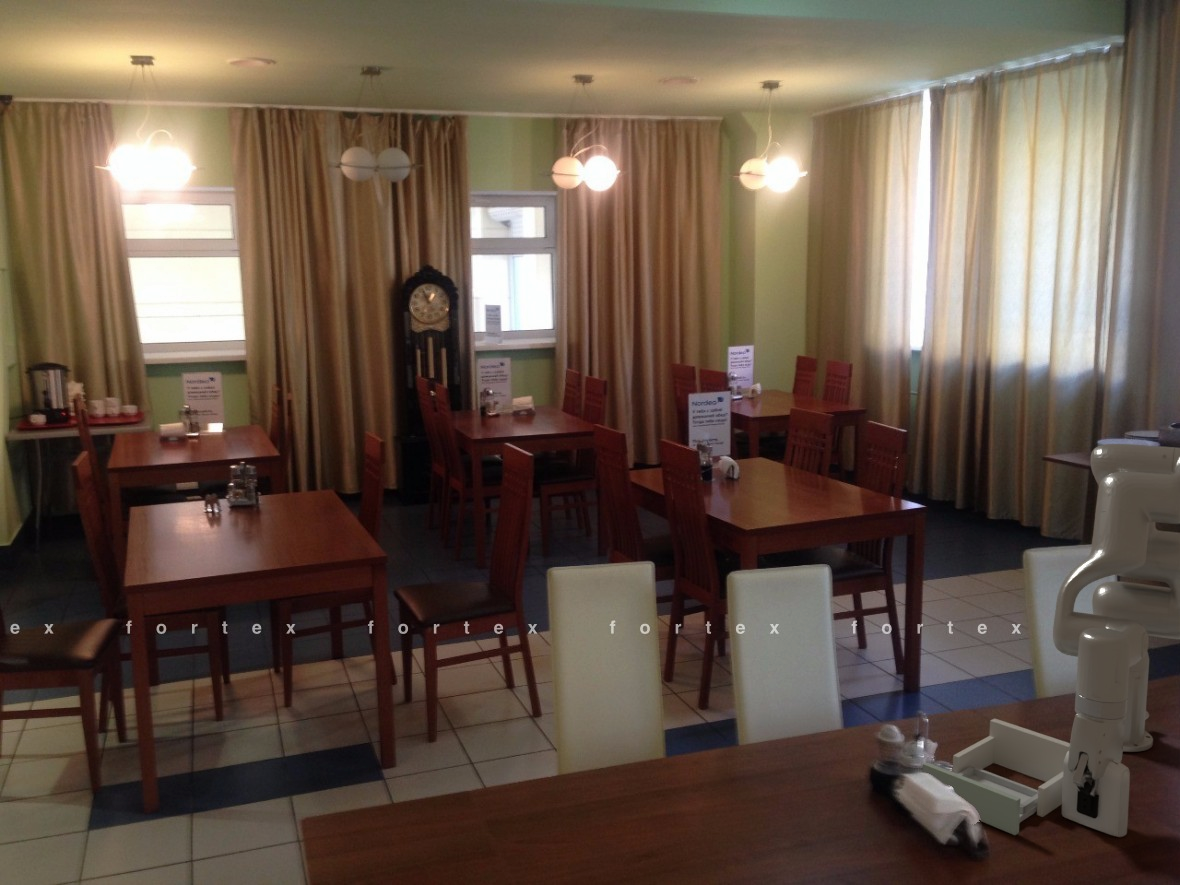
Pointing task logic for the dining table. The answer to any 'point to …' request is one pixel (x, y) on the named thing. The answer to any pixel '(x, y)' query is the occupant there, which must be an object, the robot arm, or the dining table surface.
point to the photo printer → (1101, 799)
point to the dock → (1021, 759)
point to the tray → (991, 795)
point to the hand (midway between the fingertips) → (1094, 808)
